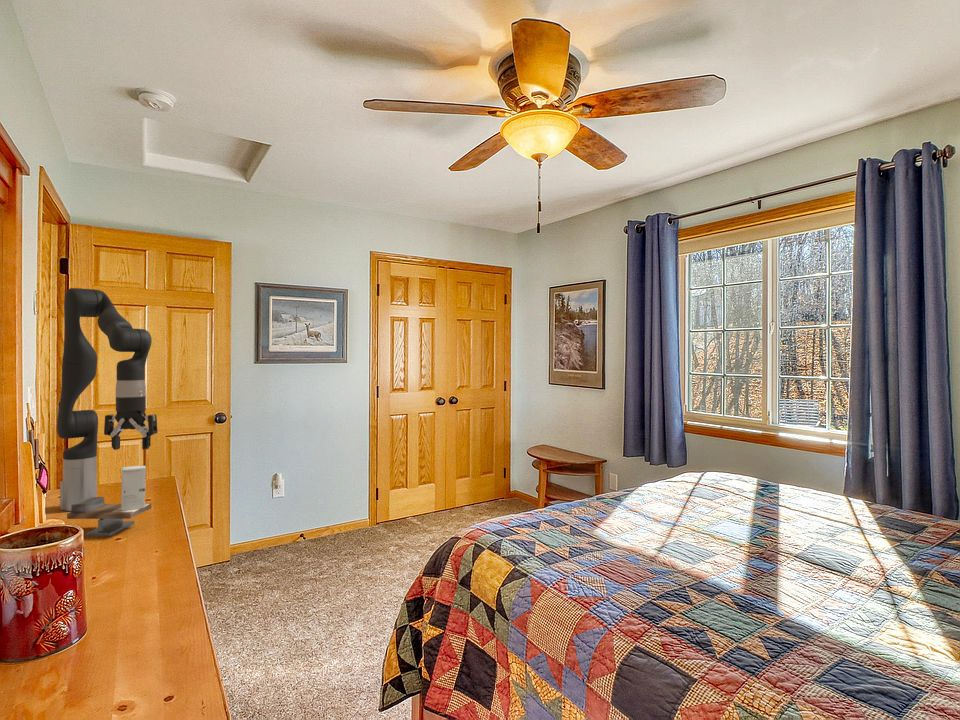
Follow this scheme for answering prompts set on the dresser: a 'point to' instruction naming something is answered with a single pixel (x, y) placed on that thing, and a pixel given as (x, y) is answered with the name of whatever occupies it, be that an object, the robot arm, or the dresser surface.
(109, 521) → the fulcrum
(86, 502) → the seesaw beam
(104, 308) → the robot arm
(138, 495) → the skincare box
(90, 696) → the dresser surface
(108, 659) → the dresser surface
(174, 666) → the dresser surface
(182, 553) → the dresser surface
